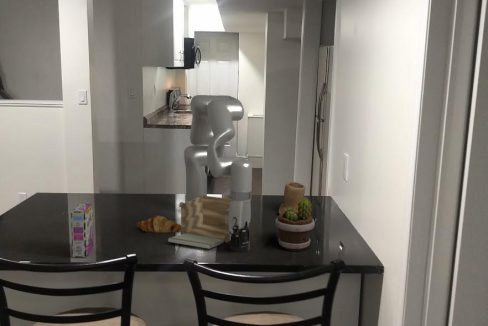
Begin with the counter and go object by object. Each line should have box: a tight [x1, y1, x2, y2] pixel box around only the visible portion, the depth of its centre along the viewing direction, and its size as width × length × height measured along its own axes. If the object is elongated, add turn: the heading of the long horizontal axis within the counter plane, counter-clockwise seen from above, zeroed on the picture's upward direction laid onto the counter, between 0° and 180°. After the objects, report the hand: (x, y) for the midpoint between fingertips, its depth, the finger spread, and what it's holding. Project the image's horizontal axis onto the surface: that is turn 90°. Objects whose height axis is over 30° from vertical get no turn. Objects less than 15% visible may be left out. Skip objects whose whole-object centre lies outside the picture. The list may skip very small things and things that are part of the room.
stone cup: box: [278, 181, 306, 215], centre depth 218 cm, size 15×12×15 cm
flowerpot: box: [274, 196, 316, 252], centre depth 174 cm, size 14×15×20 cm
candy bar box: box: [70, 203, 94, 258], centre depth 165 cm, size 11×5×16 cm, turn 5°
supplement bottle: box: [230, 221, 251, 254], centre depth 168 cm, size 7×7×12 cm
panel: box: [167, 234, 225, 250], centre depth 174 cm, size 1×17×12 cm
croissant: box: [136, 214, 181, 234], centre depth 190 cm, size 21×10×8 cm, turn 76°
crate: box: [180, 195, 231, 243], centre depth 186 cm, size 17×20×13 cm
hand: (240, 242), depth 169 cm, fingers open, 8 cm apart
